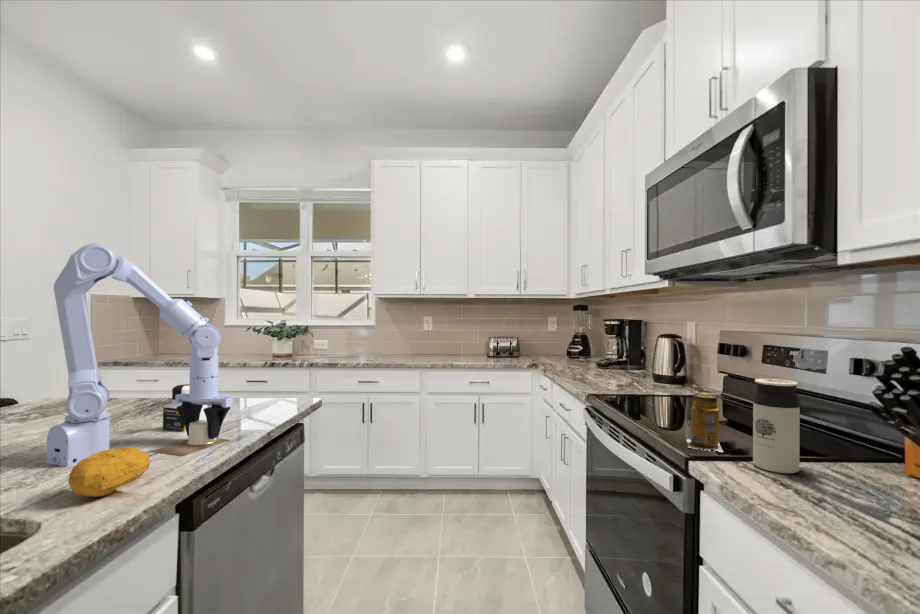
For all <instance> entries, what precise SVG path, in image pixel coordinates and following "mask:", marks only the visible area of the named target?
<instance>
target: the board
mask: <svg viewBox="0 0 920 614" xmlns="http://www.w3.org/2000/svg"><path fill="white" fill-rule="evenodd" d="M188 440H189V439H187V440H184V441H181V442H177V443H173V444H171V445H168V446H164V447H160V448H157V449H154V450H153V449H152V450H150V451H149V453H153V454H162V455H166V456H167V455H169V456H177V457H185V456H188V455H190V454H193V453H194V454H195V453H197V452H199V451H203V450H206V449H209V448H212V447H216V446H217V445H221V444H223V443H227V442H230V441H231V439H227V438H226V439H224V438H219V441H218V442H216V443H214V444H210V445H204V446H189V445H187V441H188Z"/></svg>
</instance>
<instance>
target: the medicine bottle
mask: <svg viewBox="0 0 920 614" xmlns="http://www.w3.org/2000/svg"><path fill="white" fill-rule="evenodd" d="M189 387H190V383H188V384H187V383H185V384H179V385H178V384H177V385H175V386H173V388H172V389H171V391H172V392H171V396H172V397H171V402H172V403H170V404H166V405H163V408H162V409H163V410H162V430H163V431H172V432H179V433H181V432H182V433H187V432H186V428H185V425H184V422H183V420H182V417H181V416H180V414H179V412H178V411H177V410H176V409H177V407H178V406H181V404H182V403H175V395H177V394H189ZM208 406H209V405H203V406H202V409H201V412H200V417H199V420H207V419H206V415H205V413H204V408H209V407H208Z"/></svg>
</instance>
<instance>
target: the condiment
mask: <svg viewBox="0 0 920 614" xmlns="http://www.w3.org/2000/svg"><path fill="white" fill-rule="evenodd" d="M719 416H720V410H719V408H718V398H717V396H715V395H709V394H699V393H698V394H694V395H693V396H692V405H691V407H690V438H689V439H686V444H687V448H688V449H689V448H690V449H693V450H699V449H700V448H701V449H700V450H701V451H707V450H708V452H712V451H711V450H710V449H713V448H717V449H714V450H715V451H718V452H717V453H724V450H723V448H722V446H721V444H720V440H719V438H720V433H719V431H720V429H719V428H720V417H719ZM703 449H704V450H703ZM715 451H714V452H715Z"/></svg>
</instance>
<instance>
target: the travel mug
mask: <svg viewBox="0 0 920 614" xmlns="http://www.w3.org/2000/svg"><path fill="white" fill-rule="evenodd" d="M754 382H755V384H756V390H755V392H754V393H753V396H752V397H753V398H752V399H753V400H752V405H753V406H752V409H753V410H752V413H753V414H752V419H753V420H752V425H753V426H752V463H753V465H754V466H755V467H757V468H759V469H761V470H764V471H767V472H771V473H776V474H783V475H784V474H785V475H788V474H795V473H798V472H800V448H801V447H800V444H801V443H800V436H801V435H800V421H801V420H800V417H801V416H800V413H801V412H800V410H801V409H800V407H801V405H800V404H801V403H800V402H801V401H800V398H799V395H798V394H797V392H796V391H797V387H798V386H799V382H797V381H793V380H787V379H779V378H755V380H754Z"/></svg>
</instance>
